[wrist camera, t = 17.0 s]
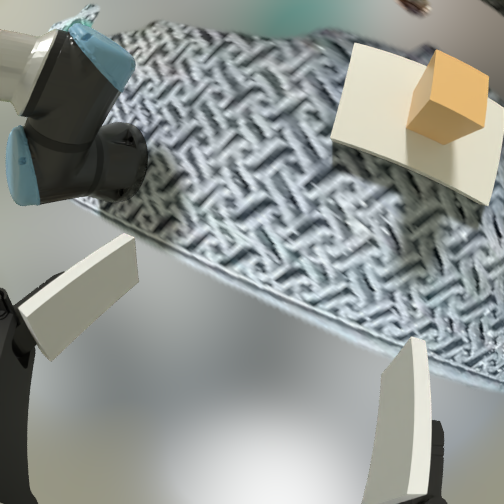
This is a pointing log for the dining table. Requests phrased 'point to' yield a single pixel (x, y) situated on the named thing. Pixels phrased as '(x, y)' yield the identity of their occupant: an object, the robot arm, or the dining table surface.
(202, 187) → the dining table surface
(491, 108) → the plate
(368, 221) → the dining table surface
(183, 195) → the dining table surface
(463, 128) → the tan upright carton
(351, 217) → the dining table surface
